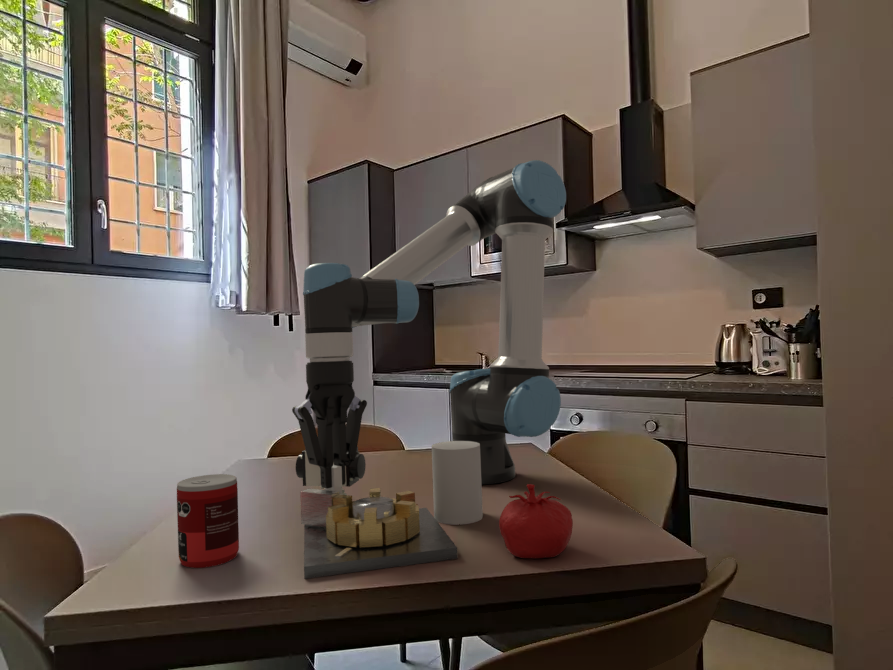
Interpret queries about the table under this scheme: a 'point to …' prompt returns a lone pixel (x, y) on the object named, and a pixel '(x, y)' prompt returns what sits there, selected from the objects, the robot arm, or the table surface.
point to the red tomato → (535, 525)
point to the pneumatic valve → (352, 471)
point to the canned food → (207, 520)
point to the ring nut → (357, 532)
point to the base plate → (344, 559)
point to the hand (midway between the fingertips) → (334, 506)
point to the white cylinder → (457, 482)
